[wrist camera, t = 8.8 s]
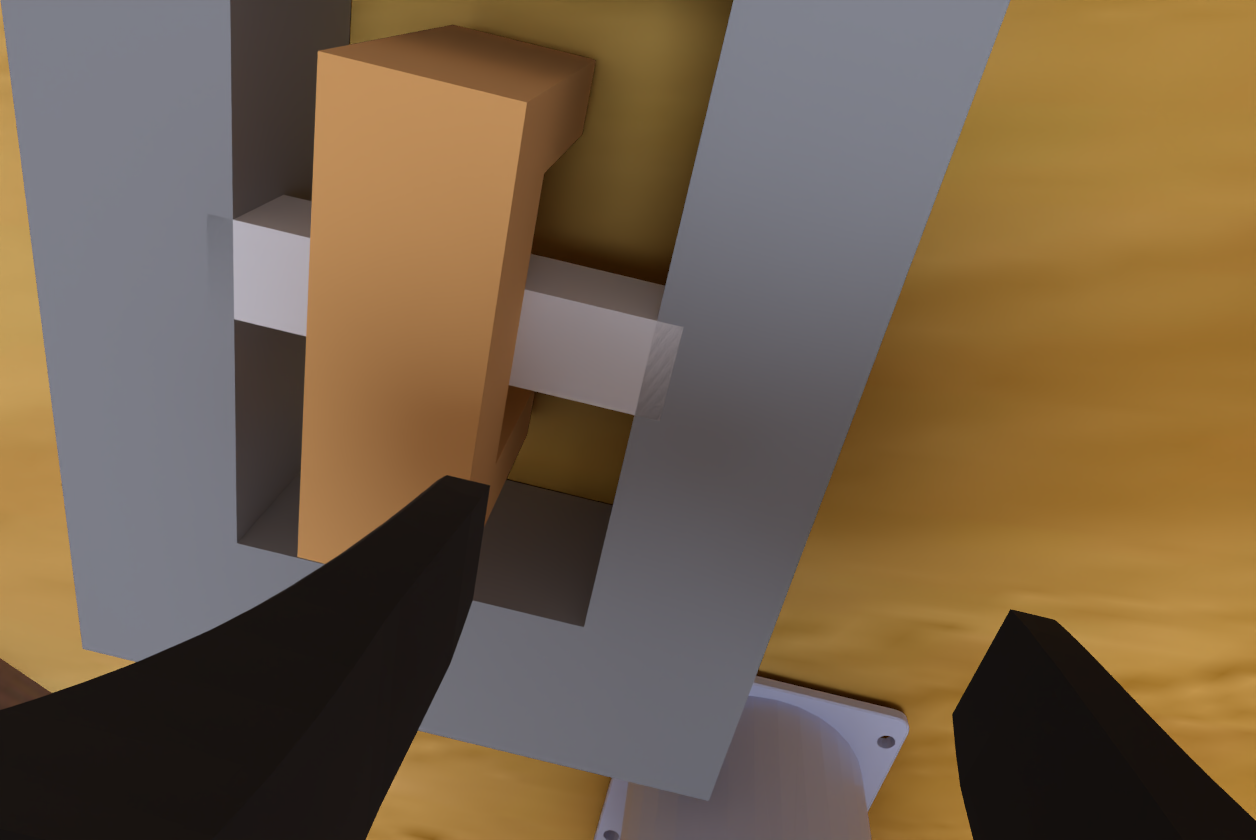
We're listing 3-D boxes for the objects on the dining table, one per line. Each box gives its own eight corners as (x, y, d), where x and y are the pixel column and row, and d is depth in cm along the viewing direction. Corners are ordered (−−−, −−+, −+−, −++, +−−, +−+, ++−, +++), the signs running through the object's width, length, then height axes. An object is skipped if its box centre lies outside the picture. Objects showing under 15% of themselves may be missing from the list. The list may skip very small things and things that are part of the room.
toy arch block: (527, 434, 22) (452, 595, 16) (411, 406, 22) (297, 556, 16) (595, 60, 18) (527, 102, 12) (453, 24, 18) (318, 50, 12)
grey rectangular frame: (714, 659, 26) (708, 801, 22) (194, 533, 26) (82, 648, 22) (1021, -238, 16) (1130, -318, 11) (154, -439, 16) (-75, -598, 11)
